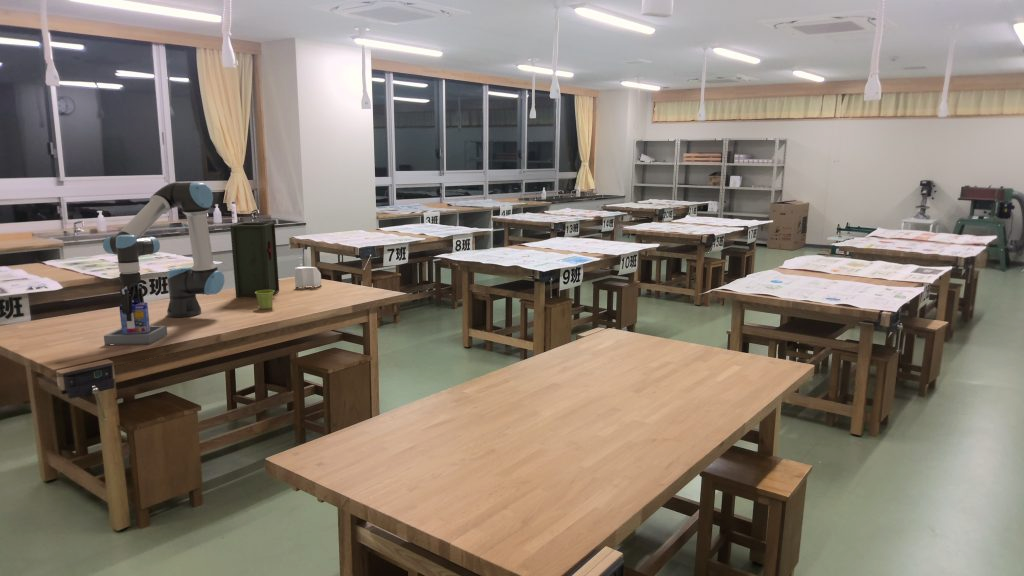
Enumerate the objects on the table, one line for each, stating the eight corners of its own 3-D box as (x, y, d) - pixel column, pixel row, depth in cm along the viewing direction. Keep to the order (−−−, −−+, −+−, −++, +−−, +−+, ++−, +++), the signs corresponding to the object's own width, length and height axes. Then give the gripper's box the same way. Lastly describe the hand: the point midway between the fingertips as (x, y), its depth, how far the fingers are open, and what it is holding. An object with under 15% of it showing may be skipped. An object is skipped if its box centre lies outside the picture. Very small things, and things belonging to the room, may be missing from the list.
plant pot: (265, 310, 338) (264, 293, 337) (252, 308, 342) (250, 292, 341) (279, 307, 346) (278, 290, 345) (266, 305, 351) (265, 289, 349)
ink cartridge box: (121, 334, 278) (117, 300, 276) (124, 331, 283) (120, 298, 281) (148, 332, 281) (144, 298, 279) (150, 329, 286) (147, 296, 284)
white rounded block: (295, 288, 400) (294, 268, 398) (306, 284, 410) (304, 265, 408) (311, 288, 397) (310, 268, 395) (321, 285, 408) (320, 266, 405)
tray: (125, 335, 290) (124, 326, 290) (167, 334, 291) (166, 325, 290) (104, 345, 275) (103, 335, 274) (149, 344, 275) (148, 335, 275)
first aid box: (247, 291, 390) (241, 222, 382) (279, 290, 391) (274, 222, 383) (236, 297, 371) (230, 225, 364) (269, 297, 372) (264, 225, 365)
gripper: (132, 268, 287) (137, 321, 291) (107, 276, 268) (114, 332, 272) (150, 268, 287) (155, 320, 291) (126, 276, 268) (133, 331, 272)
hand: (135, 326), depth 282 cm, fingers closed on ink cartridge box, 6 cm apart
